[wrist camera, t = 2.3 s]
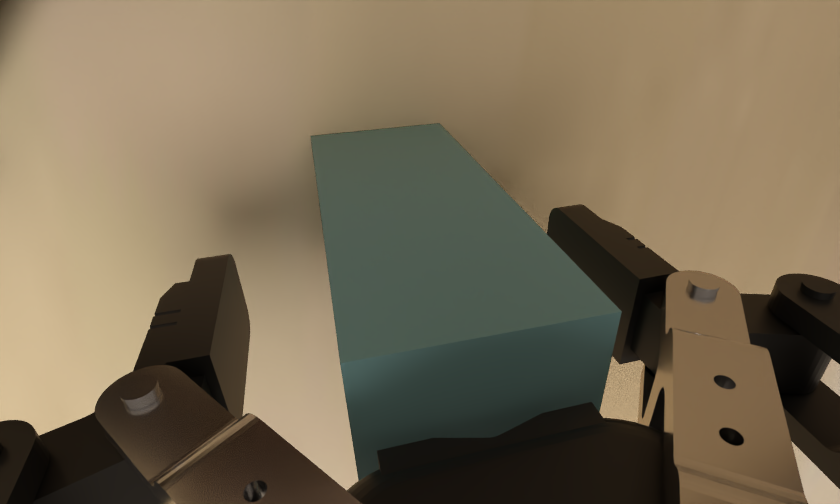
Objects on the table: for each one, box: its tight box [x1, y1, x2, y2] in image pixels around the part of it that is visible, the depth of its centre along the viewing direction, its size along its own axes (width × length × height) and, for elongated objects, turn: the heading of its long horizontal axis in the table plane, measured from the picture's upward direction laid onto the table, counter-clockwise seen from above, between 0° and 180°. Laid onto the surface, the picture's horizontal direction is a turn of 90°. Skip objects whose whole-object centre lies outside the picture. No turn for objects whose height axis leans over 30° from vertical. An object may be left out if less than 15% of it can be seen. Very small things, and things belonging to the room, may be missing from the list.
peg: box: [311, 123, 622, 481], centre depth 12 cm, size 4×4×10 cm
